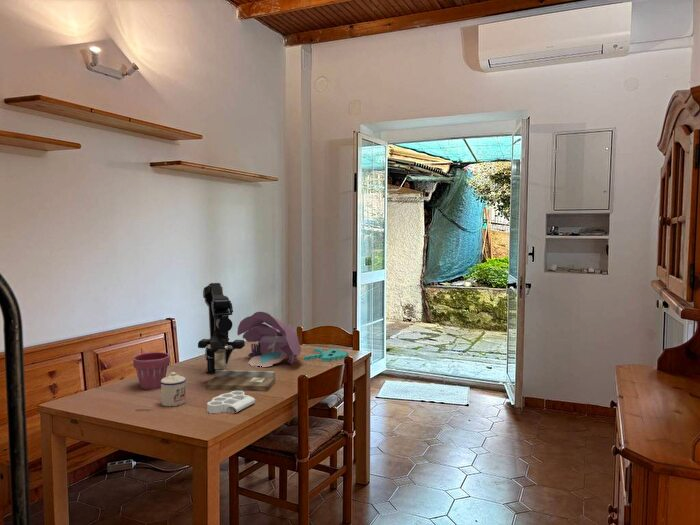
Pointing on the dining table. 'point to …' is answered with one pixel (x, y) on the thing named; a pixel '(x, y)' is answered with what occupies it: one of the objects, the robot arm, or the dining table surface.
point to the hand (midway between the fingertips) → (221, 363)
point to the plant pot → (151, 368)
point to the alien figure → (327, 355)
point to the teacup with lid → (173, 390)
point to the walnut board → (242, 380)
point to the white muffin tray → (229, 402)
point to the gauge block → (220, 359)
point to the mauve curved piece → (269, 339)
